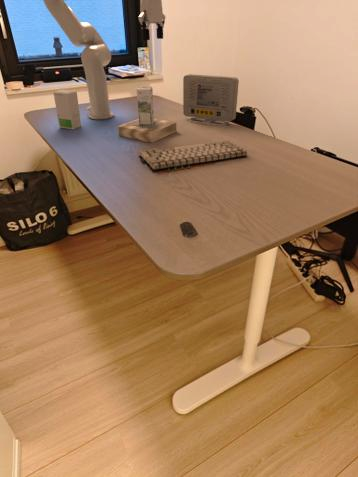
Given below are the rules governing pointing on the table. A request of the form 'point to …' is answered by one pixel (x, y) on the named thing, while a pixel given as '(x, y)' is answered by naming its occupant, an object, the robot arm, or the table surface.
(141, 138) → the birch platform
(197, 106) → the network device
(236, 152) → the mechanical keyboard
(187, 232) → the block
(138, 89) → the syrup box
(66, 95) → the skincare box
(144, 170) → the table surface
